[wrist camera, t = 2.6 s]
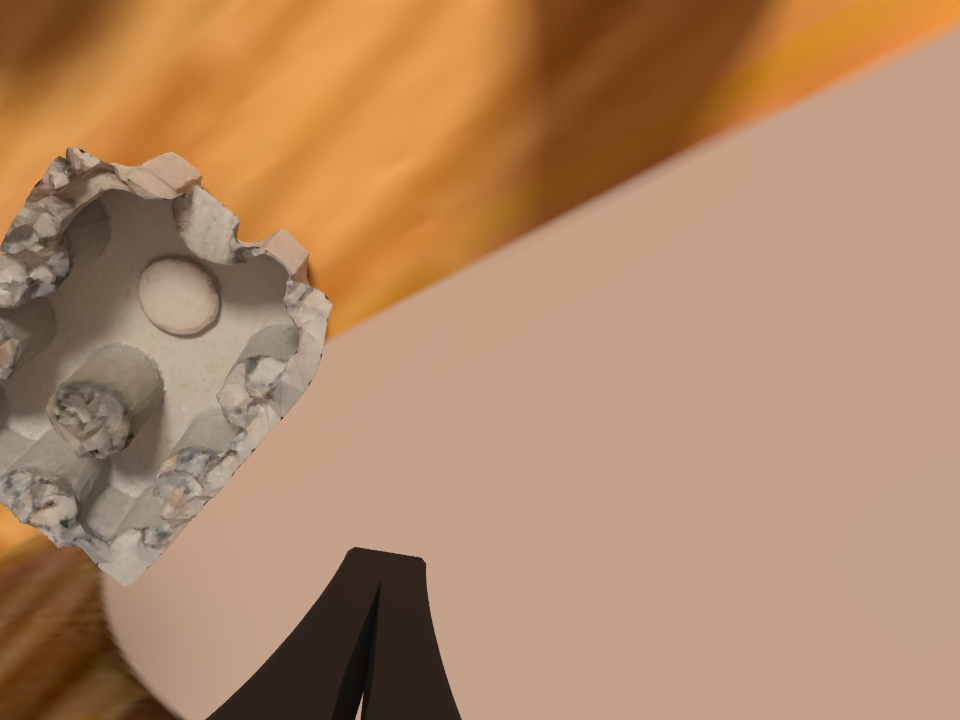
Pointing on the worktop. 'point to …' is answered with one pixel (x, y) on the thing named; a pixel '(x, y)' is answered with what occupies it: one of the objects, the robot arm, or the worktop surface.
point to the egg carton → (141, 353)
